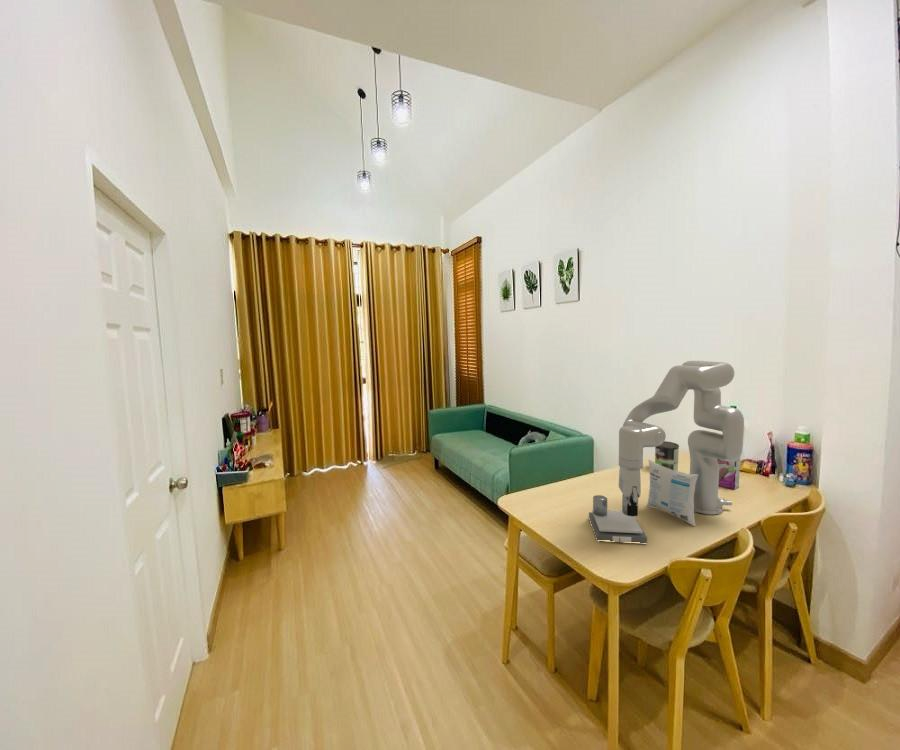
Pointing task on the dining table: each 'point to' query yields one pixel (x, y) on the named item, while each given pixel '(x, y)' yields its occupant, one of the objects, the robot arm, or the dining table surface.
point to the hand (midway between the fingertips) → (629, 511)
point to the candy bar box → (729, 473)
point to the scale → (617, 527)
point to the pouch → (672, 491)
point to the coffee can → (667, 455)
